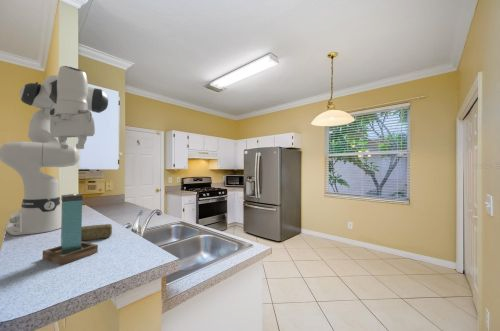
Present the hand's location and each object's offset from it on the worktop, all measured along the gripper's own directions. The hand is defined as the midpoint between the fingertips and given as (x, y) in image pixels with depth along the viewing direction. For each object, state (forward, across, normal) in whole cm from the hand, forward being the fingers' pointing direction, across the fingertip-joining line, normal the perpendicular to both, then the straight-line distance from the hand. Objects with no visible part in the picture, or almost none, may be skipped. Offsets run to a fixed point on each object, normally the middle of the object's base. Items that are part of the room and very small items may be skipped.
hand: (71, 149), depth 77 cm
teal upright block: (+34, -11, +6) cm, 36 cm away
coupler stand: (+35, -11, +6) cm, 37 cm away
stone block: (+36, 0, -8) cm, 36 cm away
